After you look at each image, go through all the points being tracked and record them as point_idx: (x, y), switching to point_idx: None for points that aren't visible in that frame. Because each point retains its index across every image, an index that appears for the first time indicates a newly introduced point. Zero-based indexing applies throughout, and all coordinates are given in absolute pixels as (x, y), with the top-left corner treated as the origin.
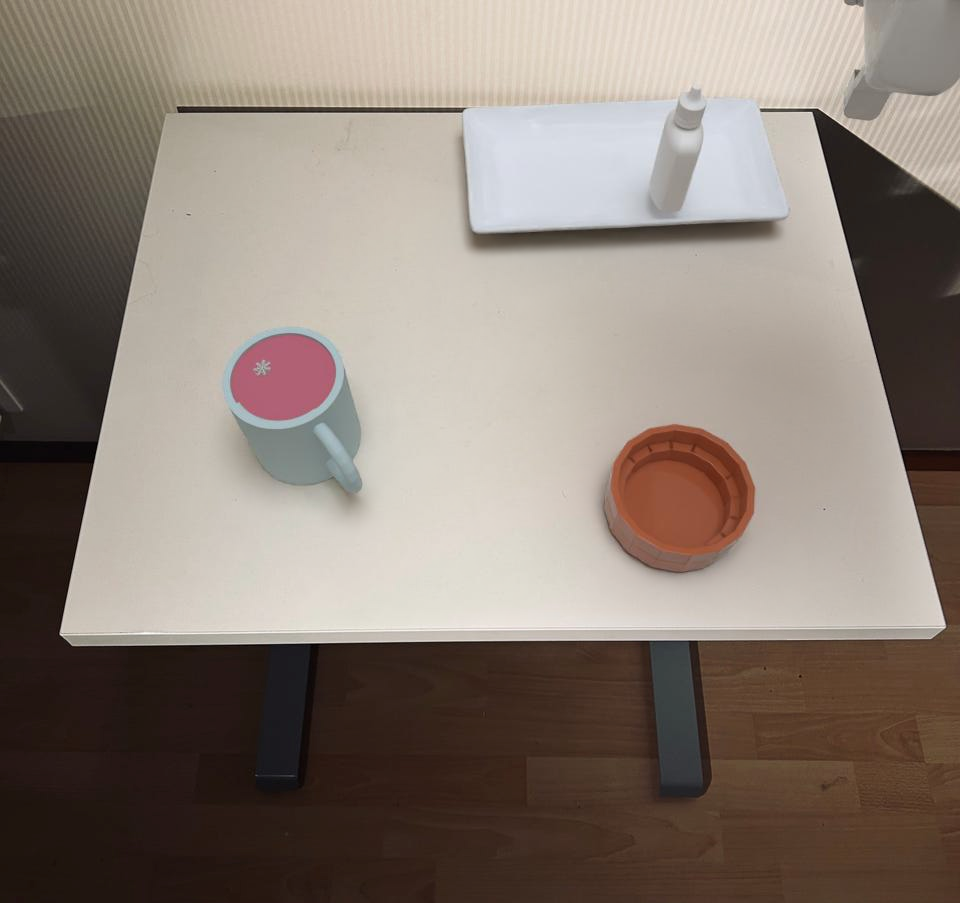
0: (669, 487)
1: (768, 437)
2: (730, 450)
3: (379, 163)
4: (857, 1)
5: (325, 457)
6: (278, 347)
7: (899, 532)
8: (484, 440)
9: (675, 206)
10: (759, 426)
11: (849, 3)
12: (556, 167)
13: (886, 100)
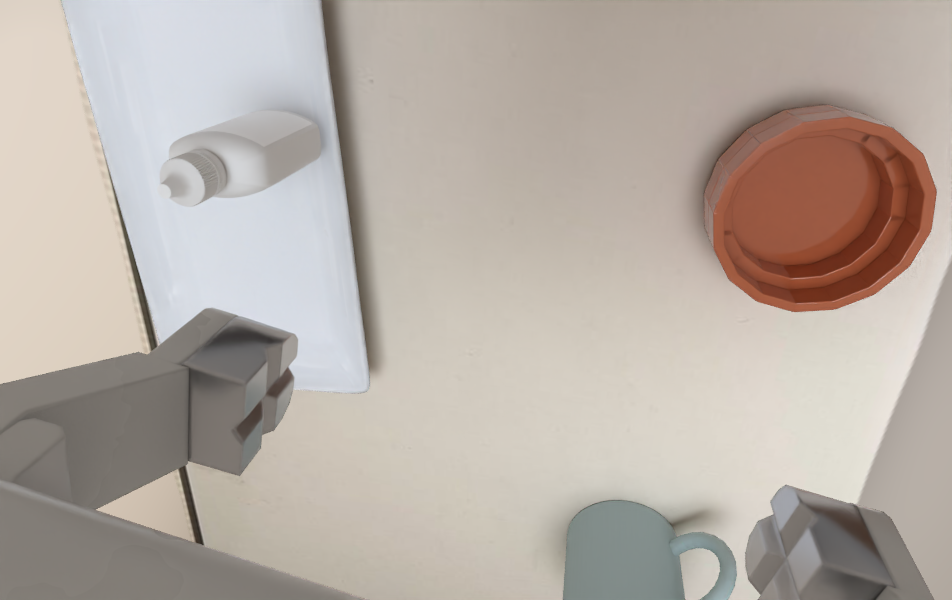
0: (770, 198)
1: (712, 29)
2: (776, 141)
3: None
4: (284, 373)
5: (677, 564)
6: None
7: None
8: (652, 392)
9: (316, 137)
10: (690, 40)
11: (290, 390)
12: (239, 265)
13: (917, 570)
